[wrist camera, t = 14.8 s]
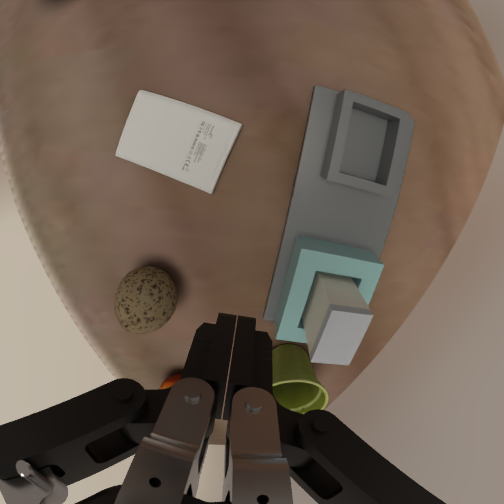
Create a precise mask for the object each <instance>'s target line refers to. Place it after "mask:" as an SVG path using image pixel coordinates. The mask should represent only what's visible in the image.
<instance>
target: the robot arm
mask: <svg viewBox="0 0 504 504" xmlns="http://www.w3.org/2000/svg"><path fill="white" fill-rule="evenodd" d="M236 317H237V315H231V314H225V313H219V314H218V318H217V322H216V324H210V323H203V324H202V325H201V326H200V327H199V328H198V329H197V330H196V333H195V336H194V339H193V342H192V345H191V348H190V351H189V354H188V357H187V360H186V363H185V366H184V369H183V372H182V376H181V378H180V379H179V381H177V382H176V383H175V384H174V385H173V386H171V387H169V388H166V389H159V390H144V388H143V387H142V386H141V385H140V384H139V383H138V382H136V381H134V380H132V379H127V378H121V379H116V380H114V381H112V382H110V383H107V384H105V385H102V386H100V387H98V388H96V389H93V390H91V391H89V392H86V393H84V394H82V395H79V396H77V397H74V398H72V399H70V400H67V401H65V402H62V403H60V404H58V405H55V406H52V407H50V408H47V409H45V410H42V411H39V412H37V413H34V414H31V415H29V416H26V417H23V418H21V419H18V420H15V421H12V422H9V423H6V424H3V425H0V490H1V493H2V495H3V497H4V499H5V502H6V504H62V503H63V502H64V501H65V500H66V498H67V496H68V488H67V485H70V484H73V483H75V482H77V481H80V480H82V479H84V478H87V477H89V476H91V475H93V474H96V473H98V472H100V471H102V470H104V469H106V468H108V467H110V466H112V465H114V464H116V463H118V462H120V461H122V460H124V459H126V458H128V457H130V456H132V455H134V454H135V456H134V459H133V461H132V463H131V465H130V468H129V470H128V472H127V475H126V477H125V479H124V482H123V484H122V485H117V486H113V487H110V488H107V489H104V490H102V491H100V492H98V493H96V494H94V495H92V496H90V497H88V498H86V499H84V500H82V501H80V502H77V503H75V504H293V499H292V489H291V481H290V476H291V477H292V478H293V479H294V480H295V481H296V482H297V483H298V484H299V485H300V486H301V487H302V488H303V489H304V490H305V491H306V492H307V493H308V494H309V495H310V496H311V497H312V498H313V499H314V500H315V501H316V502H317V503H318V504H446V503H444V502H443V501H442V500H440V499H438V498H437V497H436V496H434V495H433V494H431V493H430V492H429V491H427V490H426V489H424V488H423V487H422V486H420V485H419V484H418V483H416V482H415V481H414V480H412V479H411V478H409V477H408V476H407V475H406V474H404V473H403V472H402V471H400V470H399V469H398V468H397V467H395V466H394V465H393V464H391V463H390V462H389V461H388V460H386V459H385V458H384V457H382V456H381V455H380V454H379V453H378V452H376V451H375V450H374V449H373V448H372V447H370V446H369V445H368V444H367V443H366V442H365V441H363V440H362V439H361V438H360V437H359V436H357V435H356V434H355V433H354V432H353V431H352V430H350V429H349V428H348V427H347V426H346V425H345V424H343V423H342V422H341V421H340V420H339V419H338V418H337V417H336V416H335V415H333V414H332V413H330V412H328V411H325V410H320V409H315V410H310V411H308V412H306V413H305V414H301V413H298V412H295V411H292V410H289V409H287V408H285V407H283V406H282V405H281V404H280V403H279V402H278V401H277V400H276V399H275V397H274V394H273V364H272V340H271V338H270V337H269V335H268V333H267V332H262V331H255V326H256V318H251V317H245V316H238V321H237V327H236V334H235V340H234V347H233V353H232V360H231V367H230V373H229V380H228V387H227V393H226V400H225V407H224V413H223V420H228V424H227V432H226V437H225V461H224V485H223V498H222V502H205V501H202V500H200V499H197V498H195V496H196V492H197V488H198V483H199V478H200V474H201V470H202V466H203V463H204V459H205V455H206V452H207V448H208V445H209V441H210V437H211V434H212V432H213V428H214V422H215V418H216V419H221V414H222V408H223V401H224V395H225V389H226V382H227V376H228V369H229V363H230V357H231V350H232V344H233V337H234V330H235V323H236Z"/></svg>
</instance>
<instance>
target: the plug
mask: <svg viewBox="0 0 504 504" xmlns="http://www.w3.org/2000/svg"><path fill="white" fill-rule="evenodd" d="M372 318H373V314H372V312H371V310H370V309H369V307H368V305H367V303H366V302H365V300H364V298H363V297H362V295H361V293H360V291H359V290H358V288H357V286H356V285H355V283H354V281H353V280H352V278H351V277H349V276H343V275H337V274H332V273H326V272H321V271H316V272H315V275H314V279H313V282H312V285H311V288H310V291H309V295H308V298H307V301H306V304H305V307H304V310H303V313H302V319H303V324H304V329H305V335H306V340H307V345H308V350H309V356H310V361H311V362H315V363H326V364H340V365H349V364H350V362H351V360H352V358H353V356H354V354H355V352H356V350H357V349H358V347H359V345H360V343H361V341H362V339H363V337H364V335H365V332H366V330H367V328H368V326H369V324H370V322H371V320H372Z"/></svg>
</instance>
